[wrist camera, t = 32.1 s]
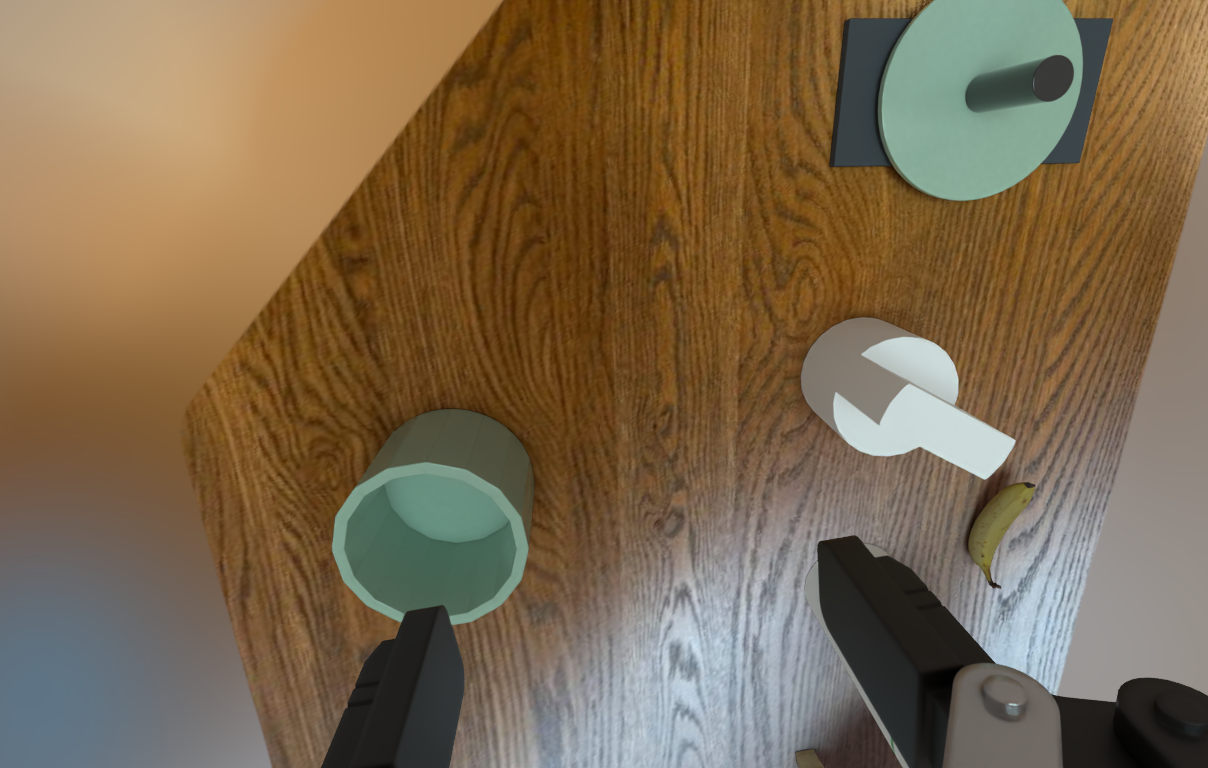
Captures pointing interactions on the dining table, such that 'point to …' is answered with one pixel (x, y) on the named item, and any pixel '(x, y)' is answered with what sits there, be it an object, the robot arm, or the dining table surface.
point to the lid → (979, 94)
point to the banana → (997, 524)
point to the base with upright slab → (896, 396)
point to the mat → (864, 71)
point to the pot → (439, 518)
